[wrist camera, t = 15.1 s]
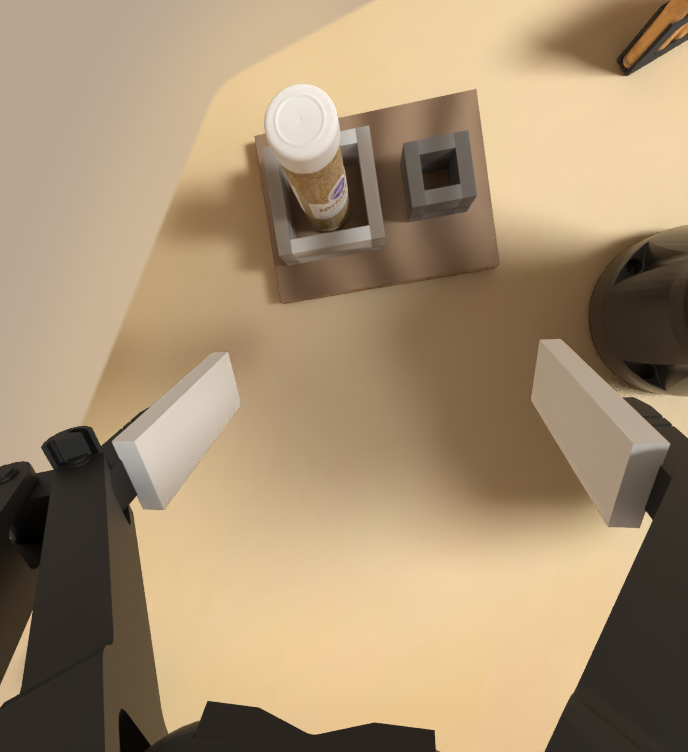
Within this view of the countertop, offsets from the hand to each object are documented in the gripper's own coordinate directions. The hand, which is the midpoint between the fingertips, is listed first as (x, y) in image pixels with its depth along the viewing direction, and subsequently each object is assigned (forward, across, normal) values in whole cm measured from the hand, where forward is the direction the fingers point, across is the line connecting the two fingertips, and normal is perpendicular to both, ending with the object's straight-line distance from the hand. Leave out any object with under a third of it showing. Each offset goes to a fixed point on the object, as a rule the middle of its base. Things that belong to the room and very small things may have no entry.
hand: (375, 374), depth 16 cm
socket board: (+26, -1, +6) cm, 27 cm away
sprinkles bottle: (+24, -6, +6) cm, 25 cm away
